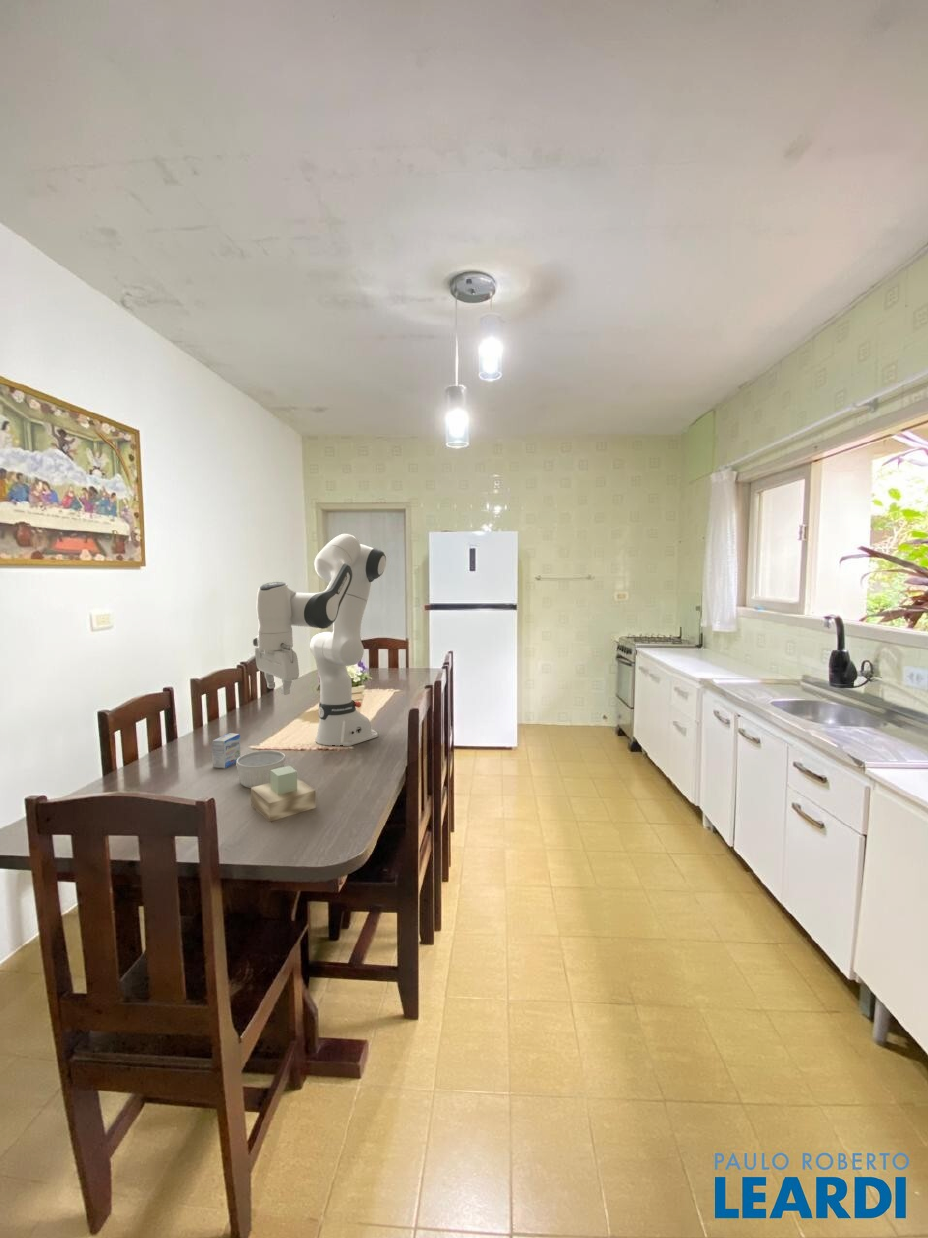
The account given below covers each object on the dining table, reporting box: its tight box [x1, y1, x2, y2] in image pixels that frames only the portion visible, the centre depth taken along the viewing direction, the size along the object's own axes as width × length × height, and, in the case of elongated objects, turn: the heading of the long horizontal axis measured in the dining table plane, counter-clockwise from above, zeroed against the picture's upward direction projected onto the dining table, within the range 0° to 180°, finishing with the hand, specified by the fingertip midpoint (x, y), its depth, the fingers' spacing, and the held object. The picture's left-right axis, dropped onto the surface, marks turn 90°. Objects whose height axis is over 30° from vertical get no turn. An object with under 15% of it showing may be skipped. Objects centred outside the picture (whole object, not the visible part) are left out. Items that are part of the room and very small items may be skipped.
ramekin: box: [235, 749, 286, 789], centre depth 149 cm, size 13×13×7 cm
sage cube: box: [270, 765, 298, 795], centre depth 133 cm, size 5×5×5 cm
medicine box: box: [211, 732, 241, 769], centre depth 162 cm, size 8×4×9 cm, turn 168°
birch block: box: [250, 777, 317, 823], centre depth 134 cm, size 12×12×5 cm
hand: (278, 691), depth 143 cm, fingers open, 8 cm apart
